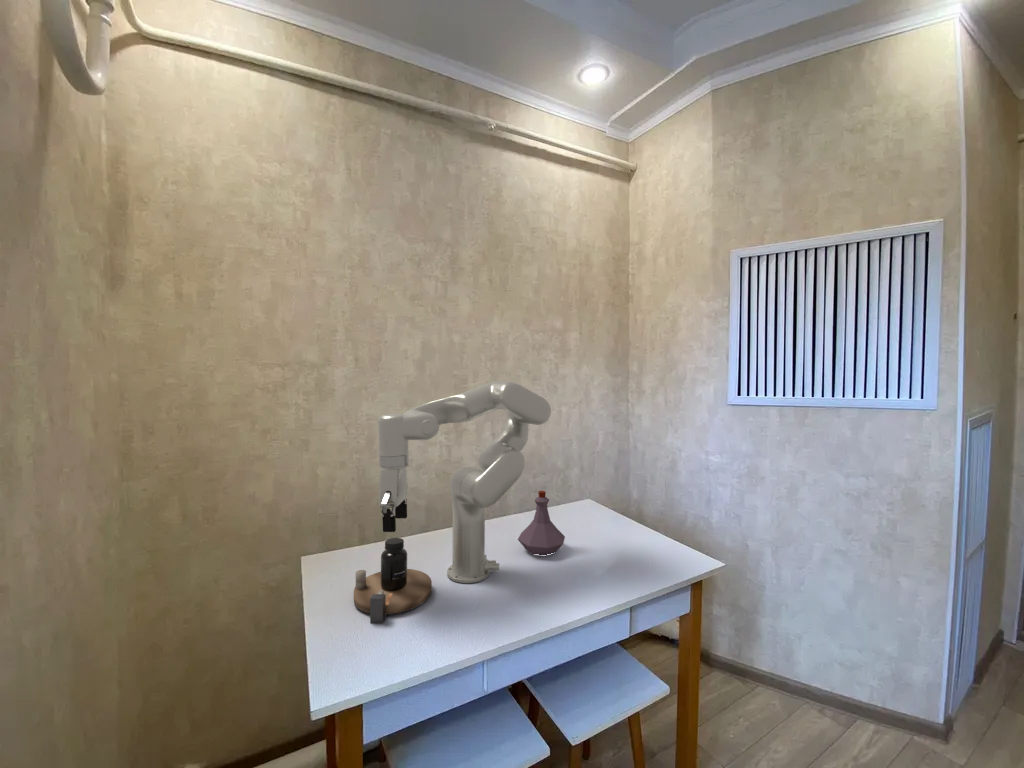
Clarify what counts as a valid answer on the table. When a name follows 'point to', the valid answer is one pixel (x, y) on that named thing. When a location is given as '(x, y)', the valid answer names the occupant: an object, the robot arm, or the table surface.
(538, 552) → the flask
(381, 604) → the index pointer
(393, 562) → the supplement bottle
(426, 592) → the disc
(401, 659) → the table surface
